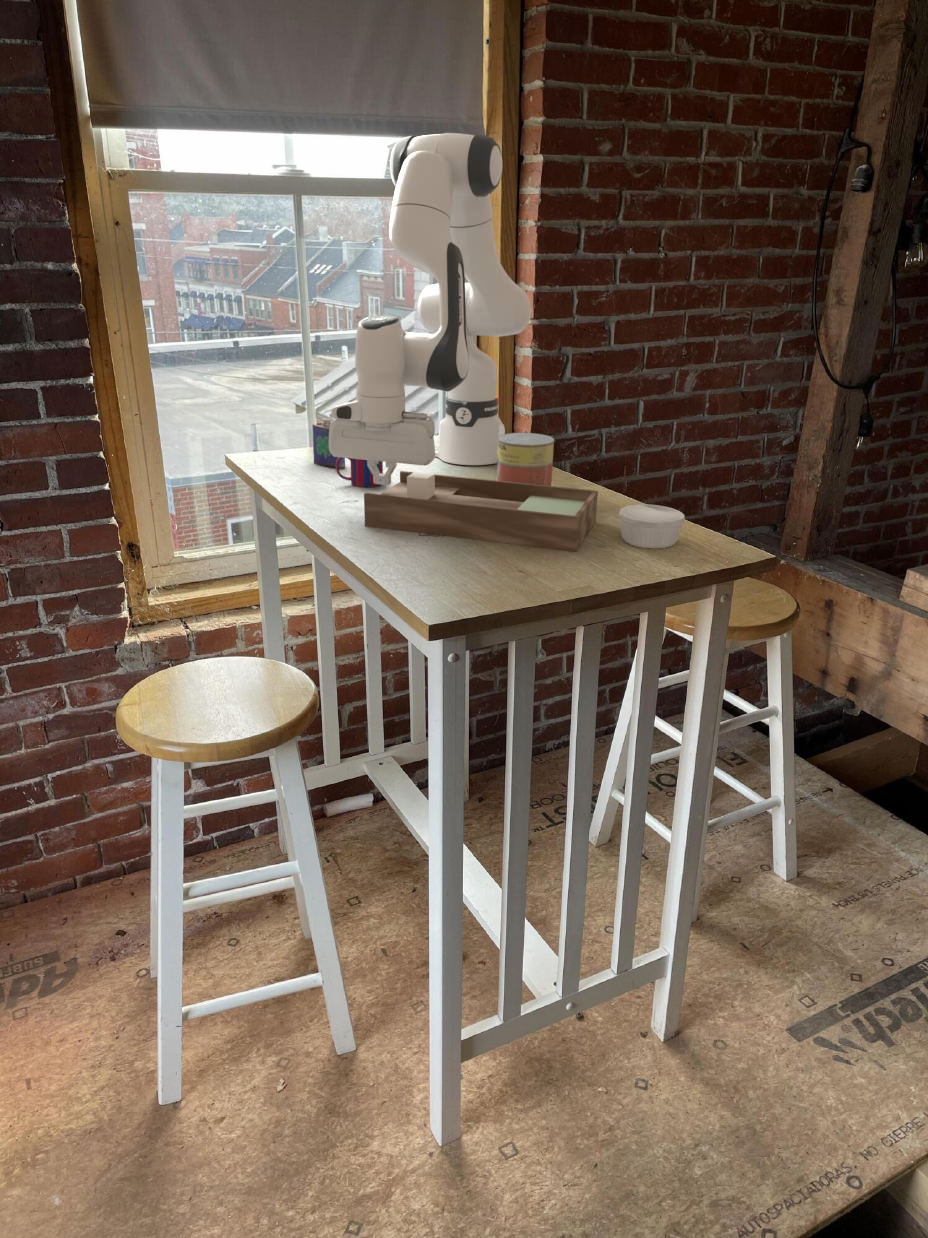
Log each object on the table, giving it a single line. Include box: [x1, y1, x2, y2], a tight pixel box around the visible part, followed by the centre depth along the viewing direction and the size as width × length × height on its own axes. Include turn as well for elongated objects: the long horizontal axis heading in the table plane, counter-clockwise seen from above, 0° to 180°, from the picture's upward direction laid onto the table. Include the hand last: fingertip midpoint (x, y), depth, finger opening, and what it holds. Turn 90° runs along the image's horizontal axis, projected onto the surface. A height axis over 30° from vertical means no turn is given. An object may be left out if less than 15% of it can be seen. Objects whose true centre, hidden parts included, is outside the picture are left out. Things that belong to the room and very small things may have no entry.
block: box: [407, 471, 436, 500], centre depth 168 cm, size 4×4×4 cm
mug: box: [335, 457, 384, 488], centre depth 190 cm, size 7×10×7 cm
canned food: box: [496, 432, 555, 486], centre depth 182 cm, size 11×11×12 cm
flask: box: [312, 417, 346, 470], centre depth 204 cm, size 9×3×11 cm, turn 52°
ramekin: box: [618, 503, 686, 549], centre depth 159 cm, size 11×11×5 cm
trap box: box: [363, 470, 599, 553], centre depth 166 cm, size 18×39×6 cm, turn 72°
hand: (382, 483), depth 171 cm, fingers closed
